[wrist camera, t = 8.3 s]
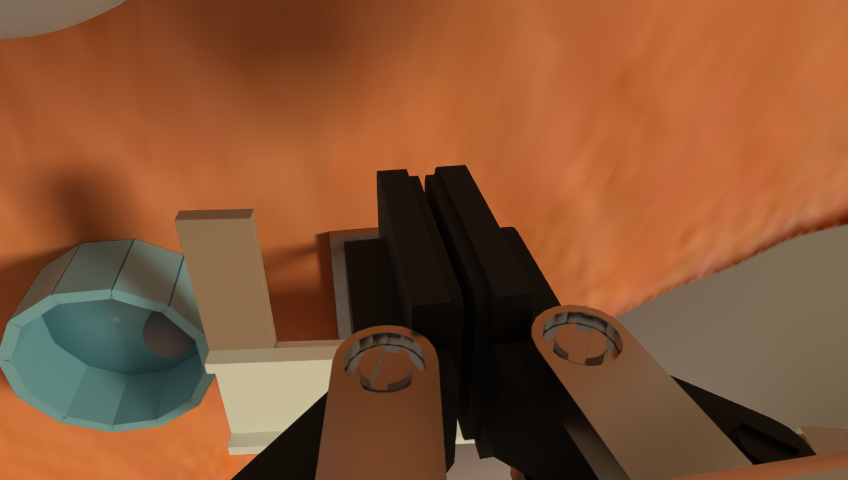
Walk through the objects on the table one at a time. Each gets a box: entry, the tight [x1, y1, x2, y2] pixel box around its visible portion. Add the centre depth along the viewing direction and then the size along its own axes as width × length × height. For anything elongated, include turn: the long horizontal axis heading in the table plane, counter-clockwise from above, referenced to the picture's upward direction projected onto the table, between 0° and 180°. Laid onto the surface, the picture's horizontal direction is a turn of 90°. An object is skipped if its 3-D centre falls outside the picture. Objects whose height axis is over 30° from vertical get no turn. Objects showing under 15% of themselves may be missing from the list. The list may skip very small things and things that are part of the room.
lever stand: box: [329, 228, 379, 340], centre depth 44 cm, size 6×12×12 cm, turn 0°
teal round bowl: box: [0, 239, 216, 432], centre depth 43 cm, size 14×14×6 cm
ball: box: [143, 311, 196, 358], centre depth 44 cm, size 4×4×4 cm
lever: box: [175, 209, 475, 455], centre depth 37 cm, size 22×18×3 cm
